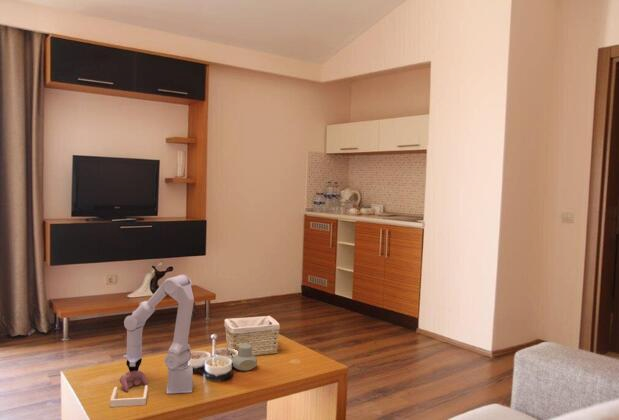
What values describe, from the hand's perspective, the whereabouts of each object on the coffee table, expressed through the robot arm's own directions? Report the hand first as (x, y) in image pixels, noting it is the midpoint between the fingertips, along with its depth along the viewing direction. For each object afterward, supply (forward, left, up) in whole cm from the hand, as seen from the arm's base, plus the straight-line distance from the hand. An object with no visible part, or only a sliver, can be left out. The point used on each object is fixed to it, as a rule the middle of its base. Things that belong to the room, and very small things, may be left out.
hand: (133, 377), depth 208 cm
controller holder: (0, +16, -1) cm, 16 cm away
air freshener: (-45, -8, -2) cm, 46 cm away
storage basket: (-51, -30, -2) cm, 59 cm away
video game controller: (0, +6, -2) cm, 6 cm away
